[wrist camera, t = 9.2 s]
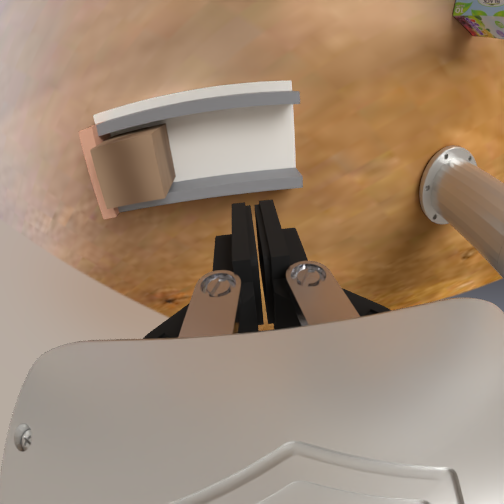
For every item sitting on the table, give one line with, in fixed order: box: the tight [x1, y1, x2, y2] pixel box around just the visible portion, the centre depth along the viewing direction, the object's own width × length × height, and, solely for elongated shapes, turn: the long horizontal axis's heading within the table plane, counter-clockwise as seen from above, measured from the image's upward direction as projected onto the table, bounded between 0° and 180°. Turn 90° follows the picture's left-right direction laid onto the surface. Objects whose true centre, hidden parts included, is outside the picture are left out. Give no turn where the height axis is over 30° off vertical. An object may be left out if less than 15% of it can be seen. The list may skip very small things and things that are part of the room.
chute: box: [79, 81, 303, 219], centre depth 26 cm, size 21×12×5 cm, turn 95°
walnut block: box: [90, 123, 176, 209], centre depth 24 cm, size 6×6×6 cm
